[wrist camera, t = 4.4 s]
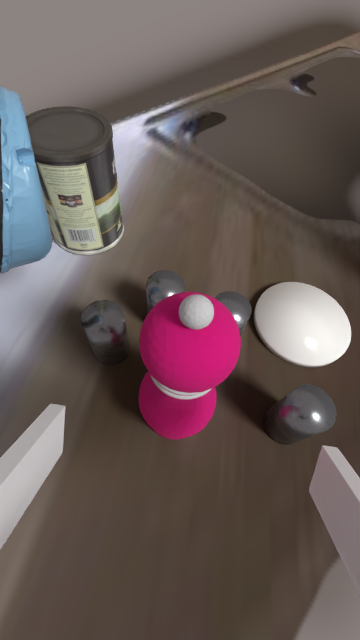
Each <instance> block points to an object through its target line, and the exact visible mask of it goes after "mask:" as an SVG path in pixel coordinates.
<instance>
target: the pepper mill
mask: <svg viewBox="0 0 360 640" xmlns="http://www.w3.org/2000/svg"><path fill="white" fill-rule="evenodd" d="M139 346H140V353H141V357H142V360H143V363H144V365H145V366H146V368H147V370H148V372H147V373H146V374H145V376H144V378H143V380H142V382H141V385H140V390H139V408H140V411H141V414H142V416H143V418H144V420H145V421H146V423H147V424H148V425H149V426H150V427H151V428H152V429H153V430H154V431H155V432H156V433H157V434H159V435H160V436H162V437H164V438H167V439H183V438H186V437H189V436H191V435H194V434H196V433H198V432H199V431H201V430H202V429H203V428H204V427H205V426H206V425H207V424H208V422H209V421H210V419H211V417H212V415H213V413H214V410H215V406H216V400H217V398H216V389H215V387H216V386H217V385H219V384H220V383H221V382H223V381H224V380H225V379H226V378H227V377H228V376H229V375H230V373H231V372H232V370H233V369H234V367H235V365H236V363H237V360H238V357H239V354H240V347H241V339H240V332H239V328H238V325H237V322H236V320H235V319H234V317H233V315H232V313H231V312H230V311H229V310H228V308H227V307H226V306H225V305H224V304H222V303H221V302H220V301H218V300H217V299H215V298H213V297H211V296H209V295H205V294H202V293H197V292H182V293H177V294H173V295H171V296H168V297H166V298H164V299H163V300H161V301H160V302H158V303H157V304H156V305H155V306H154V307H153V308H152V309H151V310H150V312H149V313H148V314H147V316H146V318H145V319H144V322H143V325H142V328H141V331H140V338H139Z"/></svg>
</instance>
